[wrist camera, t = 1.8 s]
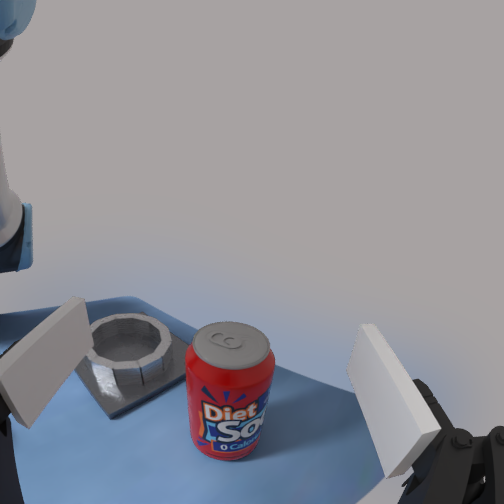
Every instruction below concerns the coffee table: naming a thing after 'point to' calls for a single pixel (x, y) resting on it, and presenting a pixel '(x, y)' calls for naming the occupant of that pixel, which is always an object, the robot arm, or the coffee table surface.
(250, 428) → the soda can
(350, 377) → the robot arm
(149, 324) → the housing
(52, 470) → the coffee table surface
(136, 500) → the coffee table surface
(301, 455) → the coffee table surface
